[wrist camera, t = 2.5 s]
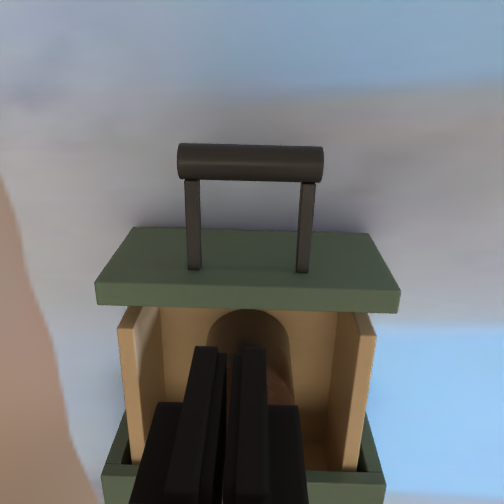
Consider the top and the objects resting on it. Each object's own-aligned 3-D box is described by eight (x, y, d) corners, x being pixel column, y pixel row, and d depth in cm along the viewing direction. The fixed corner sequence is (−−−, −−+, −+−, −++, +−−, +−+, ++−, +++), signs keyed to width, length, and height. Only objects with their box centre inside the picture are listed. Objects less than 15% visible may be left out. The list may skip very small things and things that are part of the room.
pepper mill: (205, 307, 27) (168, 482, 16) (291, 309, 27) (311, 487, 16) (207, 376, 29) (174, 573, 18) (287, 378, 29) (301, 578, 18)
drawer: (123, 122, 24) (76, 149, 18) (383, 128, 24) (425, 158, 18) (150, 433, 33) (124, 523, 27) (342, 439, 33) (360, 531, 27)
